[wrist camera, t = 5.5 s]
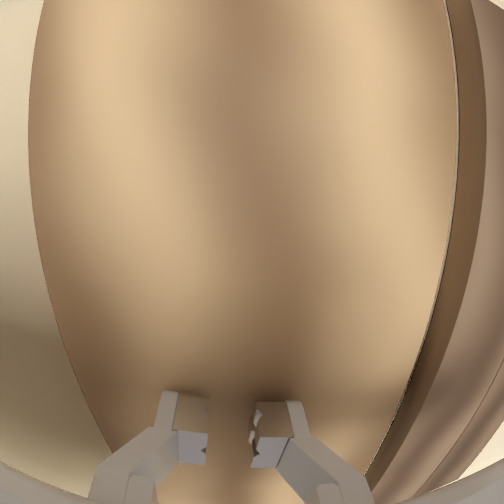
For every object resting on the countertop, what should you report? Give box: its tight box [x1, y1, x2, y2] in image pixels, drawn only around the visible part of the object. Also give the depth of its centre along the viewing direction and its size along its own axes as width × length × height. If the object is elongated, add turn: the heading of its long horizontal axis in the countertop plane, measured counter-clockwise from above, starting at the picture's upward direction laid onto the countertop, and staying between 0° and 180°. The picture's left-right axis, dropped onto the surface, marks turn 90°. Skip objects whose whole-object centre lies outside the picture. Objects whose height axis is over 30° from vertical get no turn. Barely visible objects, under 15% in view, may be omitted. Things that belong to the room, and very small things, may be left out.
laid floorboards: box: [365, 0, 504, 504], centre depth 11 cm, size 10×30×2 cm, turn 0°
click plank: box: [28, 0, 456, 504], centre depth 10 cm, size 12×30×2 cm, turn 0°
